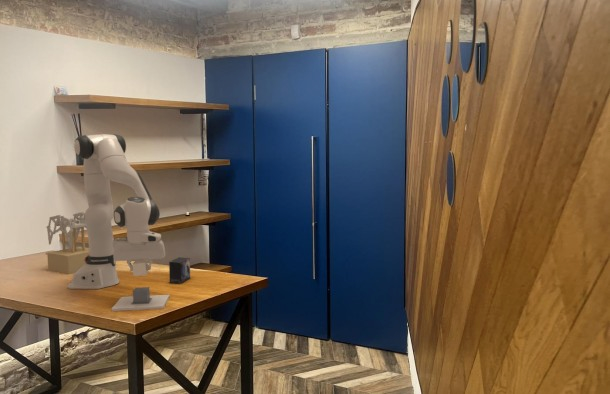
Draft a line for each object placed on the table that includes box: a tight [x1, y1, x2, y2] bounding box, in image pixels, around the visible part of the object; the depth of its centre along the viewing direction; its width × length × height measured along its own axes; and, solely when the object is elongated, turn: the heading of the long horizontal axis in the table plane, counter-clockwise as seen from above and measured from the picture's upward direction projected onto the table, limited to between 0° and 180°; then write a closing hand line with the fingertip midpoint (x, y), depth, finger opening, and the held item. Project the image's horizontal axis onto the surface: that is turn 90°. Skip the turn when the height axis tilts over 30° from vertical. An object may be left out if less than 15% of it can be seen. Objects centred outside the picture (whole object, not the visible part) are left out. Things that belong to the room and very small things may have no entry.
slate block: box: [132, 286, 151, 303], centre depth 203 cm, size 6×6×5 cm
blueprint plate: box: [111, 294, 171, 312], centre depth 203 cm, size 20×16×1 cm
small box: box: [168, 257, 191, 284], centre depth 239 cm, size 11×6×10 cm, turn 168°
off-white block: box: [132, 259, 149, 277], centre depth 202 cm, size 5×5×5 cm
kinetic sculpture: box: [45, 211, 89, 275], centre depth 265 cm, size 25×20×30 cm
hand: (140, 270), depth 202 cm, fingers closed on off-white block, 5 cm apart
